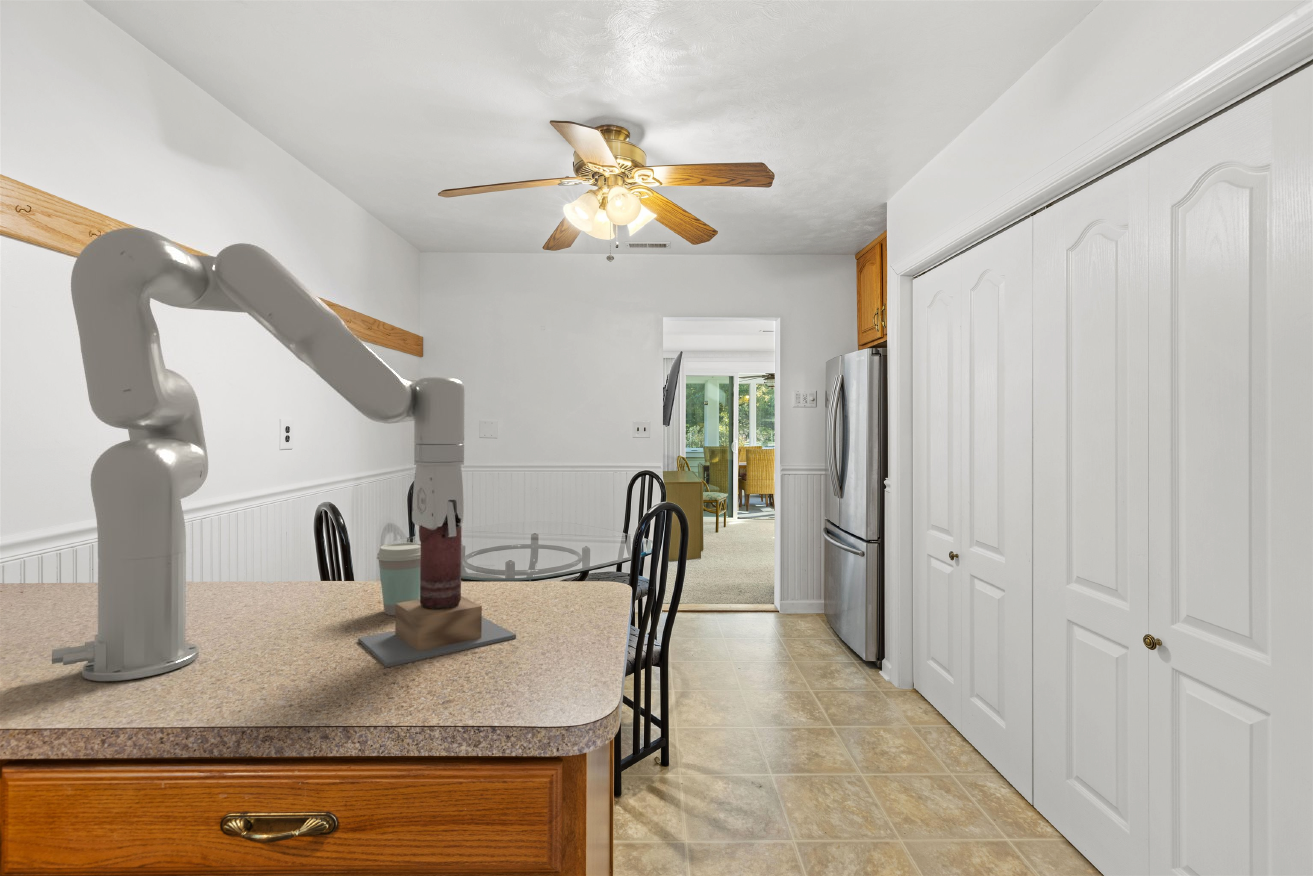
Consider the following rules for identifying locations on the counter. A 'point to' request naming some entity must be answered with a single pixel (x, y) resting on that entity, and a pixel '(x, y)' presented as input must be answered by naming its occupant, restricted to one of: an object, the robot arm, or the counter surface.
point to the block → (437, 624)
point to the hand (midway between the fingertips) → (438, 570)
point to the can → (440, 568)
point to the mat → (399, 652)
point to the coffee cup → (399, 573)
